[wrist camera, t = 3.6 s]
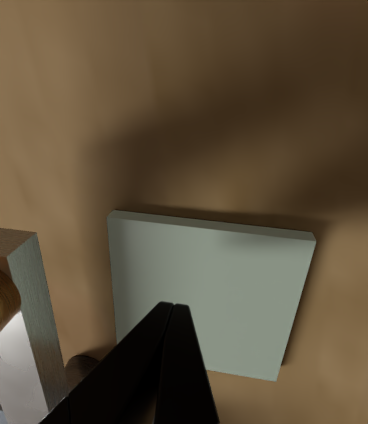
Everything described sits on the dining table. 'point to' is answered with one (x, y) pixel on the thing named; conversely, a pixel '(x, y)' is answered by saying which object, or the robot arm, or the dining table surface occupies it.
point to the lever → (30, 335)
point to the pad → (212, 283)
